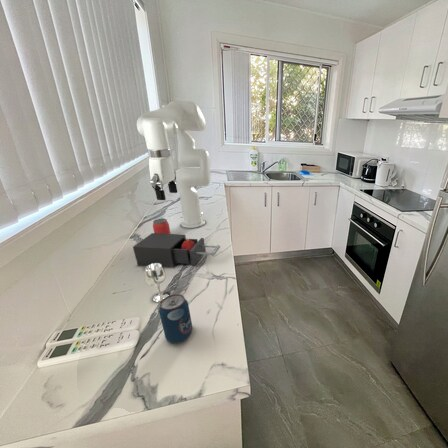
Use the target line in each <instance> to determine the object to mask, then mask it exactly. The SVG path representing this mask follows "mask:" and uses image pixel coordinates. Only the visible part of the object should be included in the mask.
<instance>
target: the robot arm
mask: <svg viewBox="0 0 448 448" xmlns="http://www.w3.org/2000/svg"><path fill="white" fill-rule="evenodd" d="M206 126H207V124H206V118H205V117H204V115H203V112H202V110H201V108H200V107H199V105H198V104H197V103H196V102H195V101H191V100H190V101H188V100H187V101H186V100H172V101H170V102H169V103H167V104H166V105H165V107H163V108H157V109H155V110H149V111H147V112H144V113H142V114H141V115H140V116H139V117H138V119H137V121H136V129H137V132H138V133H139V135H140V136H141V137H143V138H144V140H145V145H146V150H147V154H148V170H149V176H150V181H149V183H150V186H152V189H153V190H154V192H155V197H156V199H157V201H166V200H167V199H166V193H165V189H164V186H165V185H166V184H167V187H168V191H169V193H170V194H177V193H178V194H179V201H180V207H181V213H182V219H183V220H182V221H181V222H180V225H181V227H182V228H185V229H194V228H199V227H202V226H204V225H205V224H206V220H205V219H203V217H202V216H203V215H204V213H203V211H202V210H201V202H200V194H199V192H198V191H197V189H196V188H195V187H207V186H209V185H210V183H211V157H210V153H209V152H208V150H206V149H203V148H196V141H195V139H194V137H193V136H192V135H191V134H190V133H189V132H203V131H205V129H206ZM175 137H176V139H177V161H178V165H180V166H181V167H182V168H181V167H180V168H178V169H176V170H175V168H174V164H173V160H172V155H171V148H170V143H169V139H174V138H175ZM183 167H184V168H183Z"/></svg>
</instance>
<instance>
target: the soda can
mask: <svg viewBox="0 0 448 448" xmlns="http://www.w3.org/2000/svg"><path fill="white" fill-rule="evenodd" d="M158 313H159V317H160V321H161V325H162V329H163V334H164V338H165V340H166V341H167V342H169V343H171V344H177V345H178V344H180V343H181V344H182V343H184V342H185V341H187V340H188V339H189V338H190V336H191V334H192V333H193V330H194V329H193V322H192V317H191V312H190V306H189V301H188V300H187V299H186V298H185V296H184V295H182V294H178V293H177V294H176V293H175V294H171V295H168V297H166V298H165V299H163V300H162V301H160V305H159V308H158Z"/></svg>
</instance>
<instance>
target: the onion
mask: <svg viewBox="0 0 448 448" xmlns="http://www.w3.org/2000/svg"><path fill="white" fill-rule="evenodd" d="M189 239H190V238H186V241H185V242H183V244H182V247H181V248H182V249H188V255H189V256H190V252H189V251H190V250H191V249H192V247H193V246H194V245H195V243H194V242H193V241H192V240H189Z"/></svg>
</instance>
